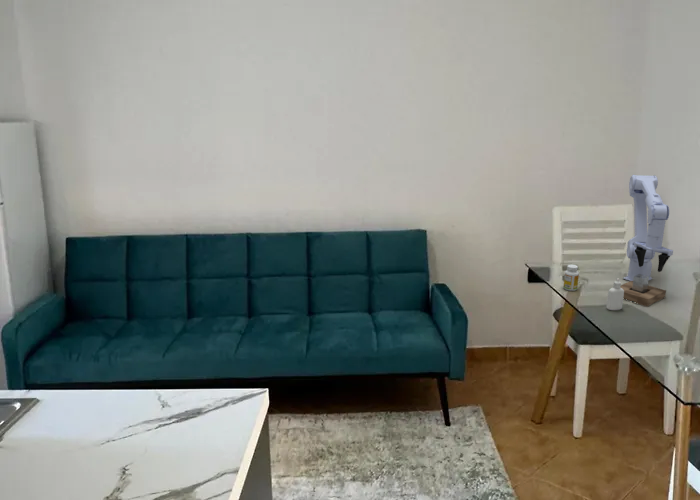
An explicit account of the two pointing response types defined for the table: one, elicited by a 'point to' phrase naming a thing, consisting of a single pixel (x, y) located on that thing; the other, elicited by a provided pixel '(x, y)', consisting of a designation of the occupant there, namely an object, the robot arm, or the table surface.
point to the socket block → (646, 298)
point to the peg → (640, 283)
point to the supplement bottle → (571, 278)
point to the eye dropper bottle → (615, 297)
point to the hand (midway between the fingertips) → (650, 268)
